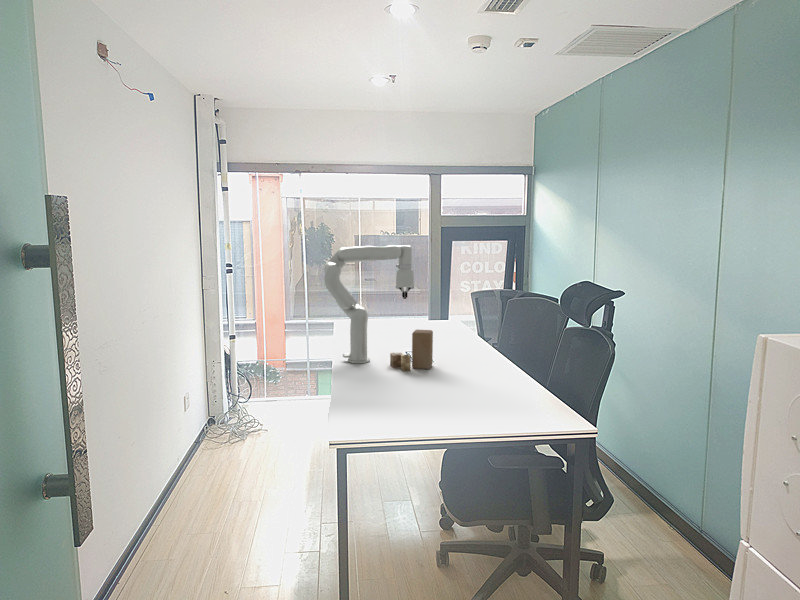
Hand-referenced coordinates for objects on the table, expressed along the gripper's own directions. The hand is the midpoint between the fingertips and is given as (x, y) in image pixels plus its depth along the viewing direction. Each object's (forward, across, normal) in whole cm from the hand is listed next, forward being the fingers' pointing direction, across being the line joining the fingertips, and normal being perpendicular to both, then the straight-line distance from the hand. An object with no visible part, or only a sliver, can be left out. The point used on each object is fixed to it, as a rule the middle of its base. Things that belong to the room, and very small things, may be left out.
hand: (404, 298), depth 323 cm
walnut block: (+35, -4, -19) cm, 40 cm away
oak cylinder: (+35, +1, -27) cm, 44 cm away
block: (+35, +10, -20) cm, 42 cm away
